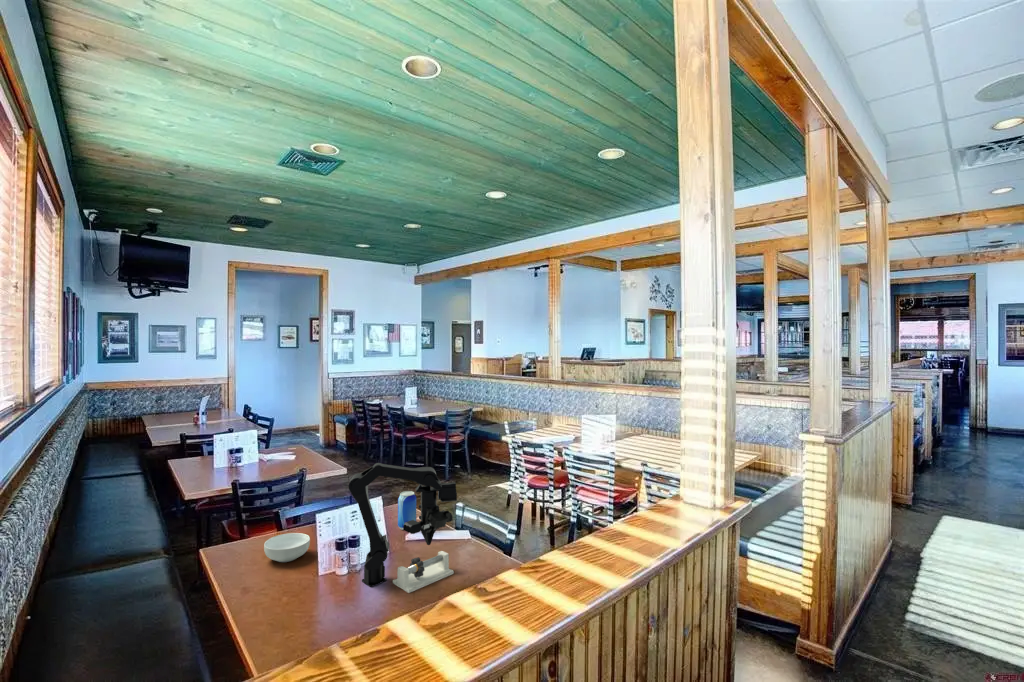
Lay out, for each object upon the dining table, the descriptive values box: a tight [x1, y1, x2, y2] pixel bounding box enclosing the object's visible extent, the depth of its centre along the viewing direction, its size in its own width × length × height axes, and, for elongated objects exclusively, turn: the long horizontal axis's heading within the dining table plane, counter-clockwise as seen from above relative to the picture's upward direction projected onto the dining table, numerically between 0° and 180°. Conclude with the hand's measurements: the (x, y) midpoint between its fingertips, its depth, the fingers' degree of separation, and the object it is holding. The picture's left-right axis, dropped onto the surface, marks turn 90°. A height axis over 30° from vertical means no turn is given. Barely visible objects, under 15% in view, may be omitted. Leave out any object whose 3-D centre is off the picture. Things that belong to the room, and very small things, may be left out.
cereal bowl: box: [263, 532, 311, 563], centre depth 198 cm, size 17×17×7 cm
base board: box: [392, 550, 455, 594], centre depth 181 cm, size 20×10×6 cm, turn 136°
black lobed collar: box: [409, 557, 424, 577], centre depth 179 cm, size 2×7×7 cm, turn 46°
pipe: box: [406, 554, 443, 574], centre depth 181 cm, size 18×3×3 cm, turn 136°
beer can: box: [397, 490, 417, 531], centre depth 231 cm, size 8×8×16 cm
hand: (428, 544), depth 183 cm, fingers closed
